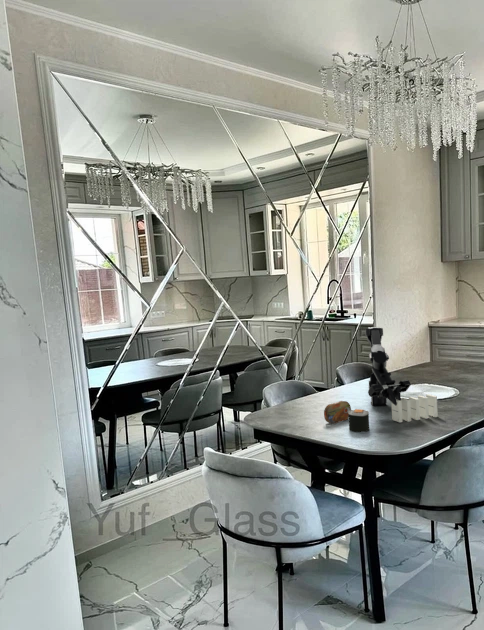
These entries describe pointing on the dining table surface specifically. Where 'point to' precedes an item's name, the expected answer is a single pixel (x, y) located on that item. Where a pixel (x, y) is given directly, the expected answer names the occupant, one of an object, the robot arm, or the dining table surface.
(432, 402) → the domino
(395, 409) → the domino
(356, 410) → the sushi
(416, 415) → the domino
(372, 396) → the robot arm
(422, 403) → the domino
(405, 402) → the domino
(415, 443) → the dining table surface
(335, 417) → the tin
